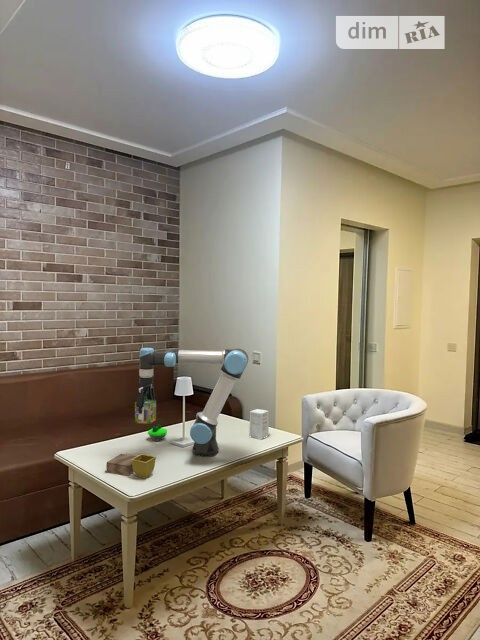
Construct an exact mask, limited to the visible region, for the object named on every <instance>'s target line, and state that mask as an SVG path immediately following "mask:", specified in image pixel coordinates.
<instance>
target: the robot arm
mask: <svg viewBox="0 0 480 640" xmlns="http://www.w3.org/2000/svg"><path fill="white" fill-rule="evenodd" d="M248 355H249V354H248V353H247V352H246V351H245V350H244V349H241V348H230V349H223V350H194V349H193V350H192V349H191V350H190V349H189V350H188V349H173V348H169V349H166V351H163V352H160V351H159V352H157V351H155V350H154V348H153V347H141V349H139V357H138V358H139V370H138V372H139V374H138V375H139V378H138V383H139V384H140V385H141V386H140V388H138V389H137V395H136V401H137V403H136V407H138V408H139V417H138V419H140V420H144V407H143V404H144V401H145V399H146V396H147V399H150V400H156V395H155V394H156V393H155V384H154V367H168V368H169V367H175V365H176V364H194V365H195V364H196V365H197V364H198V365H199V364H200V365H202V364H203V365H222V366H221V367H220V372H221V374H220V376H219V378H218V380H217V382H216V384H215V386H214V388H213V390H212V392H211V394H210V396H209V398H208V400H207V402H206V404H205V407H204V408H203V410H202V411H199V412H197V413H196V416H195V421H194V423H193V425H192V426H191V428H190V431H189V435H190V438H191V440H192V441H193V445H192V447H191V448H192V449H191V450H192V451H191V452H192V454H193V455H195V456H199V457H203V458H204V457H213V456H216V455H218V454H219V451H220V450H219V448H220V447H219V445H218V441H217V426H218V424H219V421H218V418H219V416H220V414H221V412H222V410H223V408H224V405H225V403H226V401H227V399H228V397H229V396H230V393H231V391H232V390H233V387H234V386H235V383H236V382H237V381H239V380H240V379H241V377H242V376H243V374H244V372H245V370H246V368H247V366H248V362H249V356H248Z"/></svg>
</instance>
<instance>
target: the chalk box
mask: <svg viewBox="0 0 480 640" xmlns="http://www.w3.org/2000/svg"><path fill="white" fill-rule="evenodd" d="M136 403H137V400H136V401H135V402H134V424H143V425H144V424H145V425H151V424H153V423H154V422H155V421H157V400H156V399H155V400H150V399H148V397H147V395H146V397H145V401H144V404H143V407H144V420H140V419H138V417H139V408H138V407H136Z"/></svg>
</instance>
